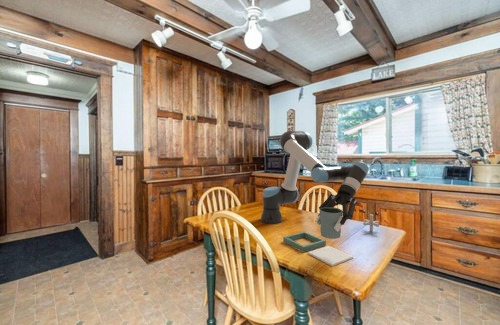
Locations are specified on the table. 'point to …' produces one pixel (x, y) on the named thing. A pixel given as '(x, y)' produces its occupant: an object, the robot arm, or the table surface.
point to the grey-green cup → (329, 222)
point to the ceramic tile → (330, 255)
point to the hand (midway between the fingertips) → (326, 226)
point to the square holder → (308, 247)
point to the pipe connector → (371, 222)
